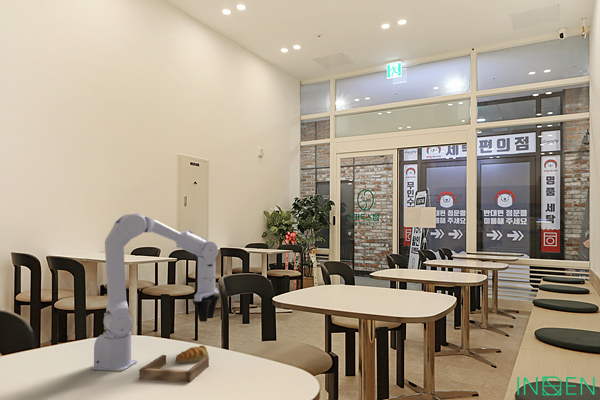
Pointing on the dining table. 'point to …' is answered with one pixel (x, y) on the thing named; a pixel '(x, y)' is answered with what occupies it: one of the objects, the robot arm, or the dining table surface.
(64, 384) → the dining table surface
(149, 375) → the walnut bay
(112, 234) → the robot arm
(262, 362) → the dining table surface
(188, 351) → the pastry
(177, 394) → the dining table surface
